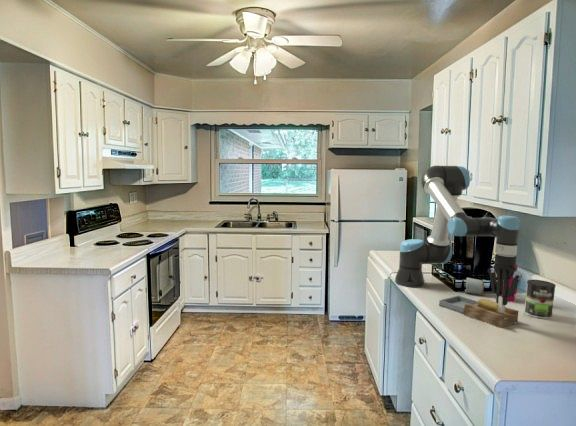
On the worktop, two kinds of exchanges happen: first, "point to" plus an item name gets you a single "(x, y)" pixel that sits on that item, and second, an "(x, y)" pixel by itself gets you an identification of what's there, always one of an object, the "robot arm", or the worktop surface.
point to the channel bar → (492, 315)
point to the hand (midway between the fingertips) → (501, 311)
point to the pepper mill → (509, 288)
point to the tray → (457, 303)
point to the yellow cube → (493, 306)
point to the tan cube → (483, 303)
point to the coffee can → (539, 299)
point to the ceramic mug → (474, 286)
